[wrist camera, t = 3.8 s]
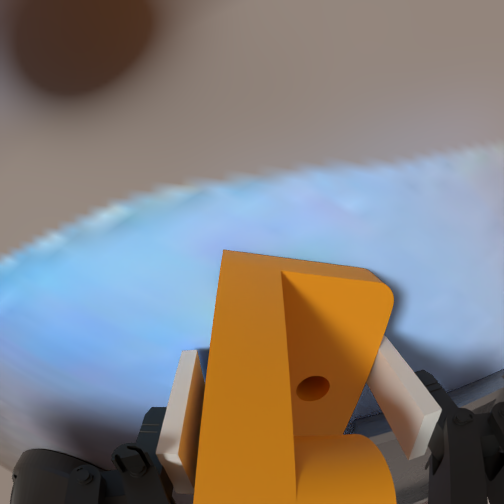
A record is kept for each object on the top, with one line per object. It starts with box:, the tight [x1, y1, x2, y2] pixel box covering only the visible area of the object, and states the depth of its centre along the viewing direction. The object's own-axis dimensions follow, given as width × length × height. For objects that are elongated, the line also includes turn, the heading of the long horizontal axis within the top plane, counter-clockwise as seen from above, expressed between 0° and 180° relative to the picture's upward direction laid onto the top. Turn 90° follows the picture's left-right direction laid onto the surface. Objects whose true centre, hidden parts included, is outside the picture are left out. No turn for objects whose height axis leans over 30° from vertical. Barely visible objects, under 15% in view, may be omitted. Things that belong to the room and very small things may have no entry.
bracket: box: [193, 250, 397, 504], centre depth 10 cm, size 11×7×12 cm, turn 171°
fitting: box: [353, 369, 504, 504], centre depth 18 cm, size 15×15×2 cm
